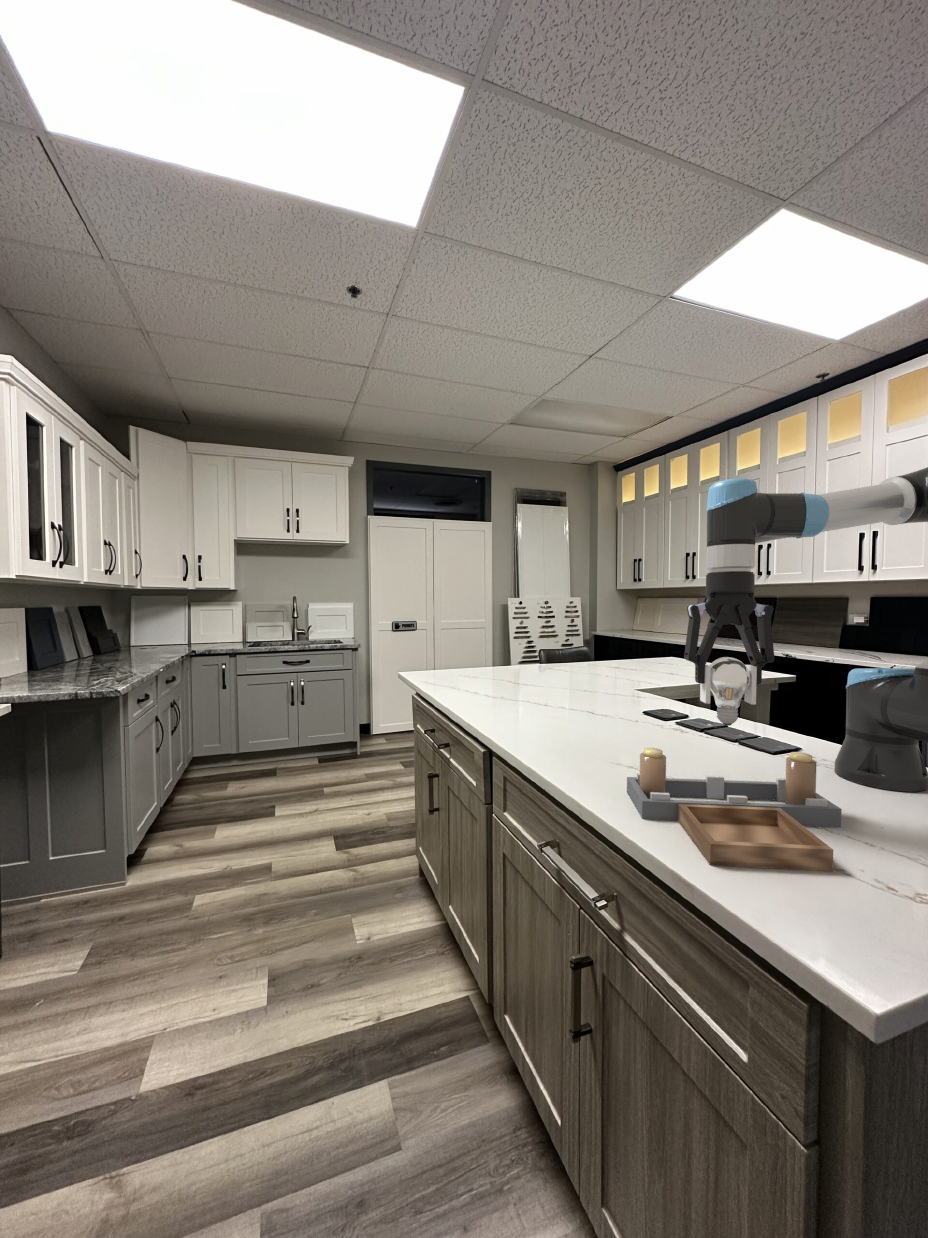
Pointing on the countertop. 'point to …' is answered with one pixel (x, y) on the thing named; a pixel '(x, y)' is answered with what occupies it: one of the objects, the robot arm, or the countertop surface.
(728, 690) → the light bulb
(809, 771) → the cylinder
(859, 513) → the robot arm
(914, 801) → the countertop surface
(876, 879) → the countertop surface
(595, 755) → the countertop surface
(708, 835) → the tray
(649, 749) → the cylinder
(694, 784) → the holder
